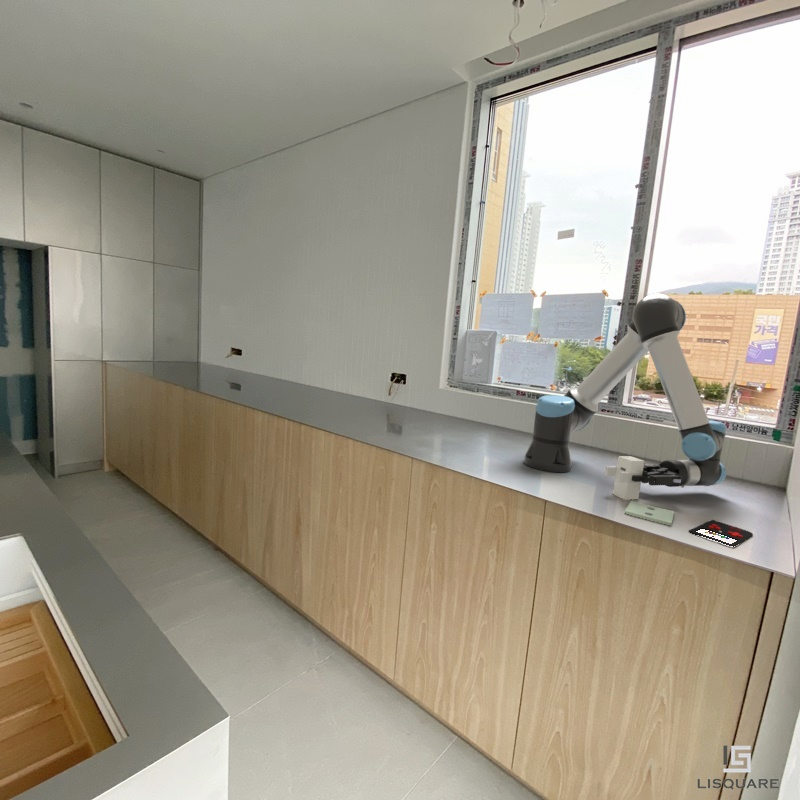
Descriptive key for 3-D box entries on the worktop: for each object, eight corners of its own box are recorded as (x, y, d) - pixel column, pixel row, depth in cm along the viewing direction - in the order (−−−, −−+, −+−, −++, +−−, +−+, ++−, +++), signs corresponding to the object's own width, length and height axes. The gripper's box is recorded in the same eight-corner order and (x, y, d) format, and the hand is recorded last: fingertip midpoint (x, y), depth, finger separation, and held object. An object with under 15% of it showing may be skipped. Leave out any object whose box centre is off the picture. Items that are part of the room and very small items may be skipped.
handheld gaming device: (755, 531, 105) (733, 545, 96) (754, 537, 105) (732, 550, 96) (712, 518, 112) (688, 529, 103) (711, 522, 112) (687, 534, 103)
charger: (612, 494, 126) (618, 456, 125) (625, 493, 128) (631, 456, 126) (624, 500, 122) (631, 460, 121) (638, 499, 124) (644, 460, 122)
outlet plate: (624, 513, 111) (624, 510, 111) (630, 503, 119) (630, 500, 119) (670, 526, 106) (671, 523, 106) (673, 514, 114) (674, 511, 114)
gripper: (703, 496, 122) (637, 499, 115) (649, 476, 139) (588, 477, 131) (708, 470, 121) (642, 471, 114) (653, 452, 138) (592, 452, 130)
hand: (613, 474), depth 122 cm, fingers open, 4 cm apart
